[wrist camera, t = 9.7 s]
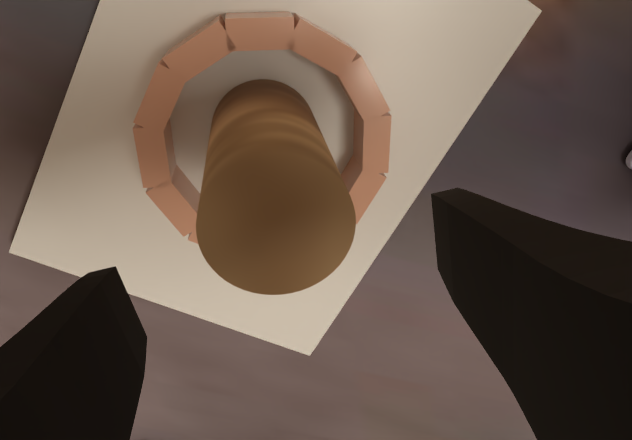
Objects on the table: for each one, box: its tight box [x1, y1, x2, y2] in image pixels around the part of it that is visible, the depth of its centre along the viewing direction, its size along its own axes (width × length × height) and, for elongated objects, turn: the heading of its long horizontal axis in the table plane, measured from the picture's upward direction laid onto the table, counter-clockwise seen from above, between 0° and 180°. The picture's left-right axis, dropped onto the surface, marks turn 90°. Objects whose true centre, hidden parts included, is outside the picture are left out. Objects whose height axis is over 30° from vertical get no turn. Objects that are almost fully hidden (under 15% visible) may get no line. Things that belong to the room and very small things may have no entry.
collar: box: [133, 11, 392, 244], centre depth 19 cm, size 9×9×2 cm
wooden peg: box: [196, 79, 356, 295], centre depth 17 cm, size 4×4×8 cm
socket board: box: [9, 0, 542, 356], centre depth 20 cm, size 14×18×1 cm
